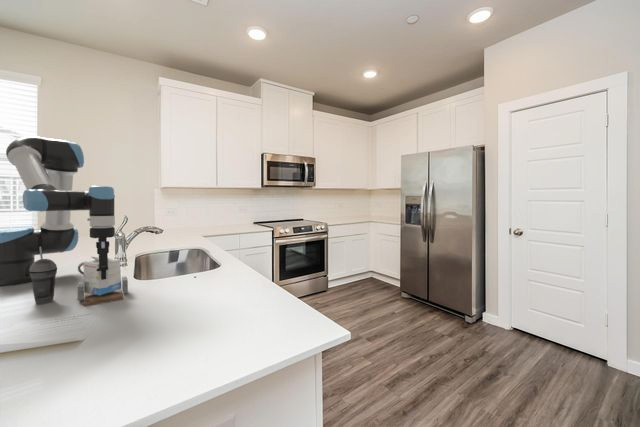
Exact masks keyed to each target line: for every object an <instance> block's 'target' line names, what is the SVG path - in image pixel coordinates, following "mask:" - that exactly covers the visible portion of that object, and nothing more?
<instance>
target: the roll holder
mask: <svg viewBox="0 0 640 427" xmlns="http://www.w3.org/2000/svg"><path fill="white" fill-rule="evenodd" d="M128 280H129V279H128V277H127V276H126V275H125V276H121V289H118V290H115V291H112V292H109V293H106V294H103V295H95V294H89V293H84V281H81V282H80V281H79V282H78V283H77V289H76V290H77V301H82V300H84V301H83V302H84V304H83V306H91V305H96V304H103V303H109V302H114V301H119V300H123V298H124V297H123V294H127V293H129V290H128V289H129V287H128V286H129V281H128ZM122 292H123V293H122Z"/></svg>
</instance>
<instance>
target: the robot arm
mask: <svg viewBox="0 0 640 427" xmlns="http://www.w3.org/2000/svg"><path fill="white" fill-rule="evenodd" d="M5 155H6V158H7V160H8V162H9V163H11V165H13V166H14V167H15V168H16V171H17V173H18V174H19V177H20V179H21V180H22V183H23V184H24V186H25V190H24V191H23V193H22V203H23V204H22V205H23V208H24V209H25V210H26V211H29V212H45V222H43V223H41V224H40V229H35V228H34V227H32V226H27V227H15V228H10V229H3V230H0V285H1V286H10V285H13V286H14V285H19V284H24V283H29V282H32V279H31V277H30V273H29V271H30V267H31V265H32V264H33V263H34V262H36V261H35V256H38V255H39V256H40V249H39V247H41V249H42V255H46V254H47V255H48V254H57V253H65V252H70V251H73V250H74V249H75V248H76V247H77V245H78V243H79V230H78V228H76V227H75V226H74V224H73V223H71V211H75V212H76V211H88V212H89V213H88V215H89V218H87V222H89V226H90V228H89V237H90V238H92V239H97V241H95V248H96V253H97V255H98V258H99V269H97V271H99V289H100V288H107V287H108V258H109V257H108V254H109V252H110V250H109V249H110V248H109V247H110V240H109V241H108V239H107V238H114V237H115V235H116V231H115V230H116V228H115V227H114V226H115V225H116V218H115V217H116V216H115V189H114V187H112V186H105V185H104V186H103V185H91V186H89V188H88V190H73V183H74V182H73V181H74V175H75V174H77V173H78V170H79V169H82V168H83V167H84V164H85V156H84V151H83V149H82V147H81V146H80V144H78V143H76V142H72V141H68V140H64V139H63V140H62V139H55V138H49V137H41V136H35V135H33V136H30V135H29V136H27V135H26V136H22V137H19V138H17V139H15V140H13V141H12V142H11V143H10V144H8V146H7V147H6V151H5ZM101 266H103V267H101Z"/></svg>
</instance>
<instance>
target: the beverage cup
mask: <svg viewBox="0 0 640 427" xmlns="http://www.w3.org/2000/svg"><path fill="white" fill-rule="evenodd" d="M39 249H40V255H39V256H40V259H38V260H36V261H35V262H34V263H33V264H32V265H31V267H30V271H29V273H30V277H31V279H32V281H31V284H32V285H31V286H32V292H33V297H34V301H35V302H34V303H35V305H44V304H49V303H52V302H53V301H54V297H55V288H56V287H55V286H56V277H57V276H56V275H57V272H58V266H57V264H56V262H54V260H52V259H50V258H43V254H42V249H41V247H39Z"/></svg>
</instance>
